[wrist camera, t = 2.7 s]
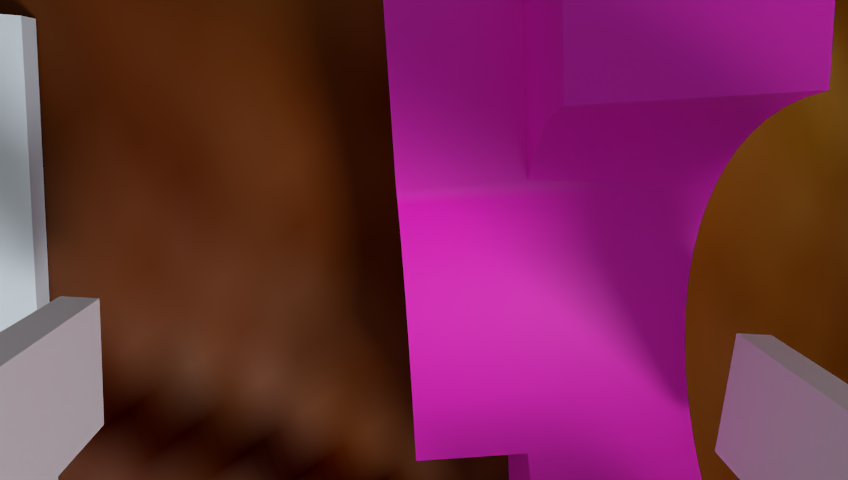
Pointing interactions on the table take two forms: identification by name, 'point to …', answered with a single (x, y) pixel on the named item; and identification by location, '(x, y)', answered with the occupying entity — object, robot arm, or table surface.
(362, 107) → the table surface
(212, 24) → the table surface
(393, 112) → the toy block
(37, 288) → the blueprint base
